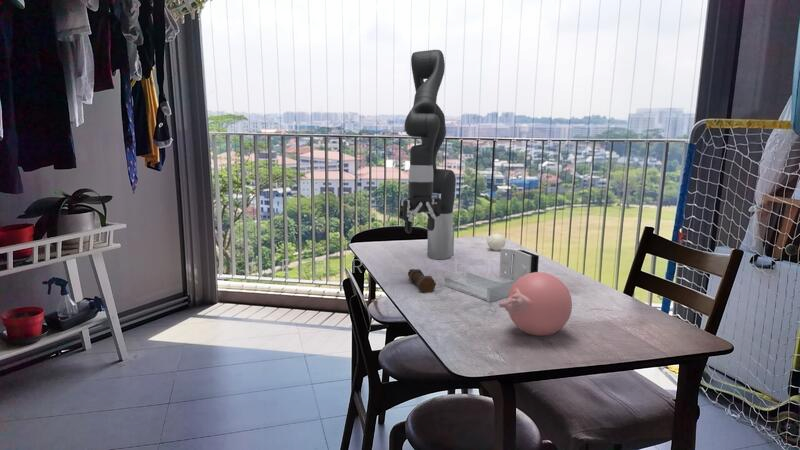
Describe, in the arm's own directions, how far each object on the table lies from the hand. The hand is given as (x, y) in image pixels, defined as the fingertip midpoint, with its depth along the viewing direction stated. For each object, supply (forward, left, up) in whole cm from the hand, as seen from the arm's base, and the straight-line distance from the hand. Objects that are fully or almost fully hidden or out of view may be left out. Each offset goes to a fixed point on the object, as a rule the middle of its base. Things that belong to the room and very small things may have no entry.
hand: (419, 231), depth 165 cm
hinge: (-28, +17, -17) cm, 37 cm away
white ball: (-53, -15, -17) cm, 58 cm away
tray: (-11, +15, -17) cm, 25 cm away
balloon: (+4, +47, -17) cm, 50 cm away
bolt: (+1, +1, -18) cm, 18 cm away
